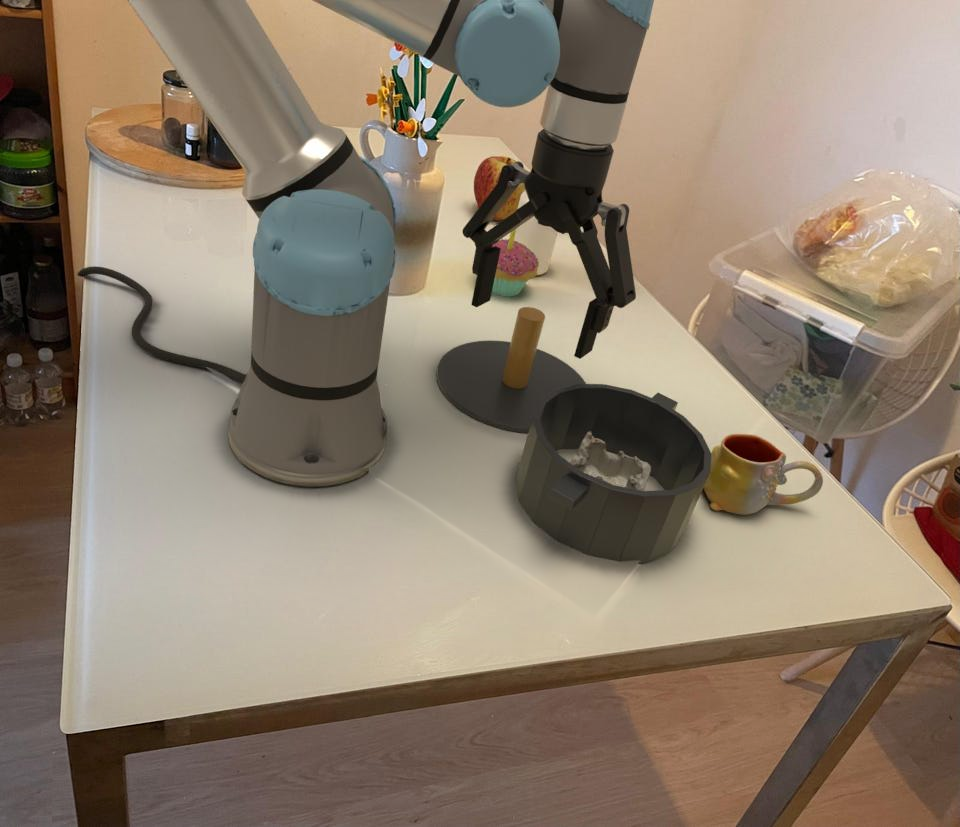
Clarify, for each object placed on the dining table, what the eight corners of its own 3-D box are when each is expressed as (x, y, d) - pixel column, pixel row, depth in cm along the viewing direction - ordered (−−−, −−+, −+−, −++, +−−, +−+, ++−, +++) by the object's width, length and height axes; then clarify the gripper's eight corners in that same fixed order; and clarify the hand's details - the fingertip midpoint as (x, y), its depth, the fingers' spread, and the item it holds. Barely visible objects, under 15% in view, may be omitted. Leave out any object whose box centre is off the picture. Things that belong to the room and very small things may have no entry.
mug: (701, 511, 86) (724, 460, 82) (694, 469, 92) (715, 420, 88) (815, 536, 86) (843, 486, 82) (801, 493, 92) (827, 445, 88)
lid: (403, 383, 95) (416, 303, 89) (492, 333, 108) (508, 261, 102) (536, 460, 88) (560, 378, 82) (614, 396, 101) (639, 322, 95)
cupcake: (525, 311, 114) (546, 229, 108) (465, 295, 115) (482, 213, 108) (534, 285, 121) (554, 207, 115) (477, 270, 122) (494, 191, 115)
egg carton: (578, 457, 89) (588, 426, 86) (646, 484, 87) (658, 453, 85) (546, 514, 80) (556, 481, 78) (621, 545, 79) (633, 512, 76)
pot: (465, 512, 79) (482, 441, 74) (579, 419, 95) (599, 356, 91) (623, 611, 72) (653, 540, 68) (716, 493, 89) (746, 429, 84)
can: (535, 281, 123) (554, 203, 116) (497, 264, 125) (514, 187, 118) (555, 268, 127) (574, 193, 121) (518, 253, 130) (536, 178, 123)
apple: (468, 200, 144) (479, 142, 138) (520, 210, 144) (533, 153, 139) (467, 221, 136) (479, 161, 130) (522, 231, 137) (536, 172, 131)
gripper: (709, 173, 79) (644, 363, 91) (493, 92, 88) (460, 274, 100) (678, 189, 73) (613, 389, 85) (451, 101, 83) (421, 292, 95)
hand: (530, 327), depth 93 cm, fingers open, 13 cm apart
